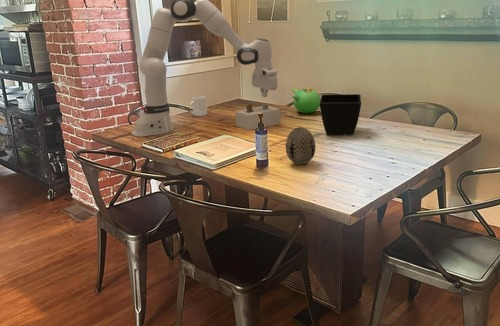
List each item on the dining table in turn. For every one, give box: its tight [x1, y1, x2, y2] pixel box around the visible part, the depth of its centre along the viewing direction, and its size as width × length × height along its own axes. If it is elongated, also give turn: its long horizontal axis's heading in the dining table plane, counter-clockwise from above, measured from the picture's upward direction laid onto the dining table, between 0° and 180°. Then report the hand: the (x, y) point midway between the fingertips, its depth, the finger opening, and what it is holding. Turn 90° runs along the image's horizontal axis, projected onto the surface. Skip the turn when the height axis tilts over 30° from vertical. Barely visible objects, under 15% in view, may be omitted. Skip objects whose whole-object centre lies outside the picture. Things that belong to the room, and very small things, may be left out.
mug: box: [189, 95, 208, 117], centre depth 277 cm, size 9×12×11 cm
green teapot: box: [291, 87, 321, 114], centre depth 266 cm, size 18×17×15 cm
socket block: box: [234, 105, 282, 131], centre depth 246 cm, size 20×14×8 cm
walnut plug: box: [246, 104, 253, 113], centre depth 243 cm, size 3×3×9 cm
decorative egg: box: [285, 126, 316, 165], centre depth 180 cm, size 12×12×15 cm
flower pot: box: [319, 93, 362, 136], centre depth 221 cm, size 19×19×17 cm
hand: (264, 96), depth 245 cm, fingers closed
